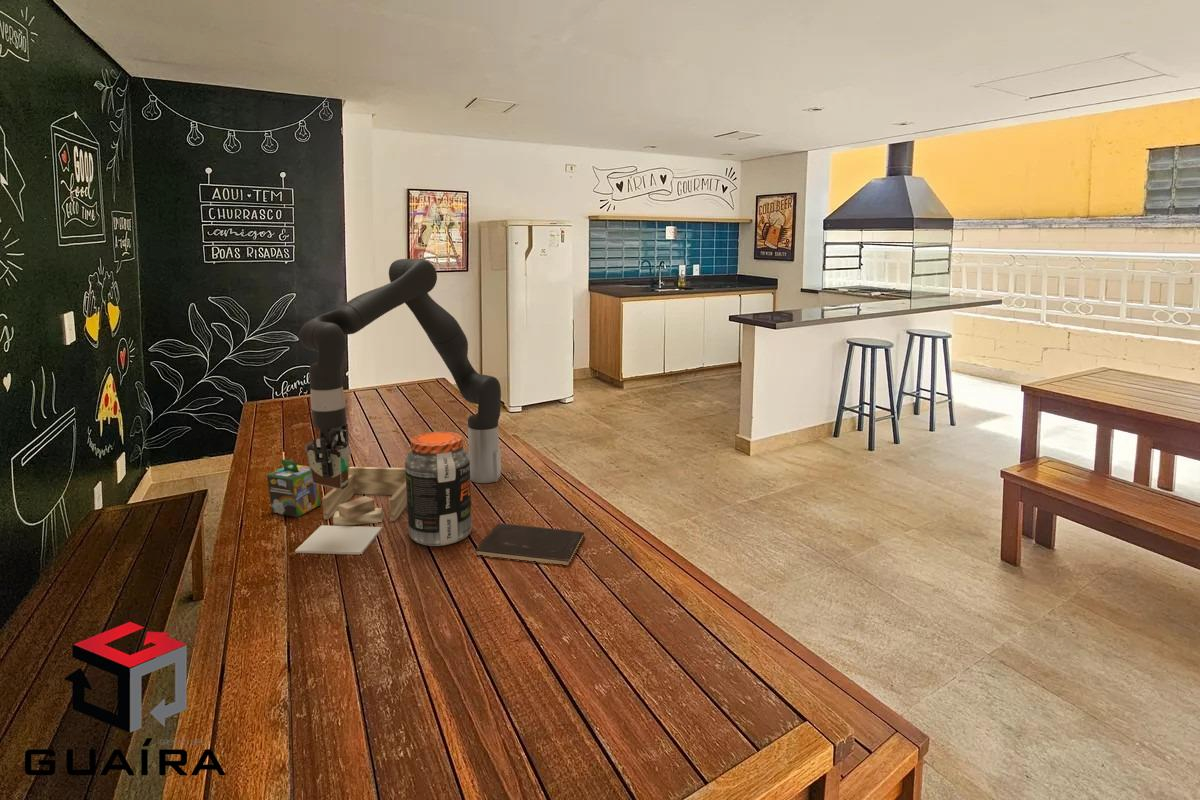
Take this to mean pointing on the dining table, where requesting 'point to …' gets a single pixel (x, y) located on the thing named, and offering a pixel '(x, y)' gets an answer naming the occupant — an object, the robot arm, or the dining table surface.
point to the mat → (339, 540)
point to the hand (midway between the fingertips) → (334, 471)
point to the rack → (370, 489)
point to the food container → (338, 466)
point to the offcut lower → (359, 518)
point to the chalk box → (292, 490)
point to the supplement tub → (438, 489)
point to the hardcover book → (531, 543)
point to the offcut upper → (356, 507)
